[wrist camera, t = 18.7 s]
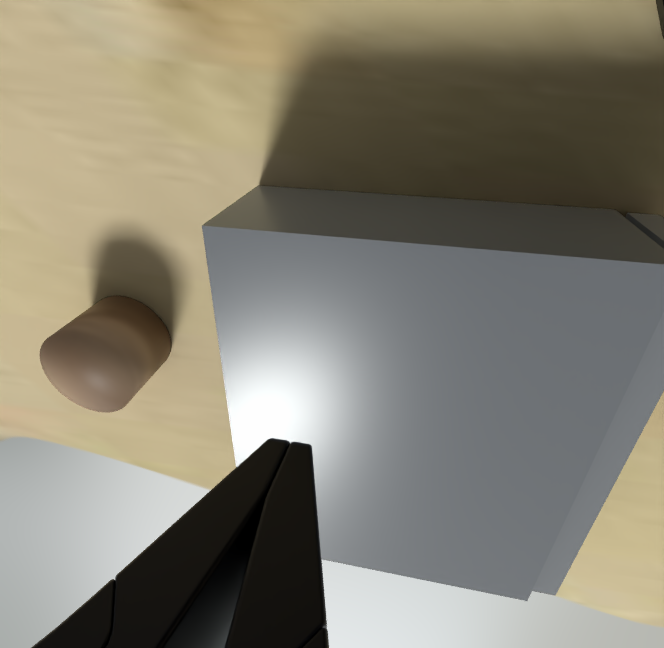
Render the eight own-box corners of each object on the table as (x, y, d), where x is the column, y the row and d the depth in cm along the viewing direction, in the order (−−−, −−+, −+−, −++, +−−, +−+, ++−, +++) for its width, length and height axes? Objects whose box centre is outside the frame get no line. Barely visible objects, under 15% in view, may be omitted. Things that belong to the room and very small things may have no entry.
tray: (659, 214, 15) (730, 263, 11) (536, 513, 23) (555, 595, 19) (294, 189, 17) (258, 224, 13) (302, 473, 25) (281, 540, 21)
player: (615, 209, 15) (685, 266, 11) (510, 504, 23) (527, 600, 19) (258, 185, 17) (201, 225, 13) (277, 464, 26) (247, 544, 21)
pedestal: (132, 282, 21) (83, 319, 18) (187, 353, 22) (150, 398, 20) (74, 313, 23) (21, 351, 20) (129, 377, 24) (88, 421, 21)
